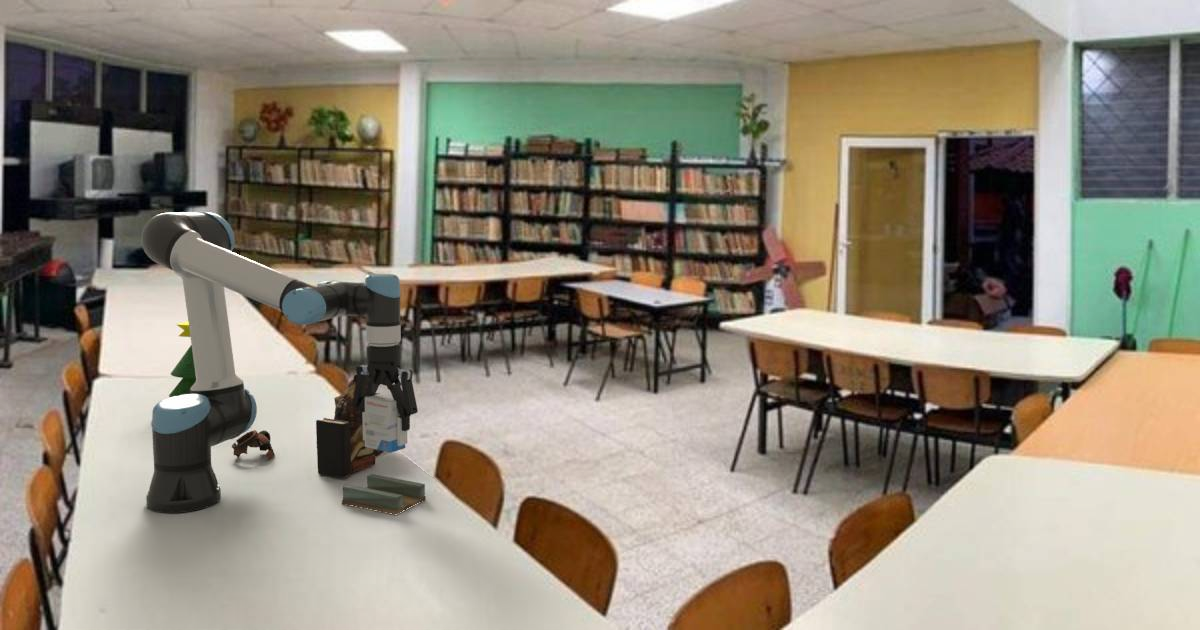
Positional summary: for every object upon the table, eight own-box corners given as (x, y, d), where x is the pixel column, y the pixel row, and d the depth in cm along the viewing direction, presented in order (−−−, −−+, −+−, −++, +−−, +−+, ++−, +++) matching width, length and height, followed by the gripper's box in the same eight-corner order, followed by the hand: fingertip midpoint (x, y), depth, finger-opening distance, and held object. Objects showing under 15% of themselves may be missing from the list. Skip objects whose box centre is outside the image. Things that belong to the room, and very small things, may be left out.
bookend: (343, 481, 218) (342, 381, 214) (312, 473, 223) (311, 375, 220) (387, 467, 230) (386, 372, 227) (357, 459, 236) (356, 366, 232)
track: (396, 515, 196) (396, 497, 196) (341, 504, 202) (341, 487, 202) (425, 500, 206) (425, 483, 206) (372, 489, 212) (372, 473, 212)
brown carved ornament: (269, 465, 230) (251, 440, 227) (239, 478, 232) (221, 453, 229) (286, 441, 241) (269, 417, 238) (258, 454, 243) (241, 430, 240)
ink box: (407, 448, 202) (406, 397, 201) (390, 453, 198) (390, 401, 196) (380, 442, 207) (379, 392, 205) (363, 447, 203) (362, 396, 201)
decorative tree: (213, 423, 267) (210, 323, 263) (155, 418, 270) (151, 320, 266) (249, 408, 286) (247, 315, 282) (195, 404, 289) (192, 312, 285)
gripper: (433, 345, 198) (434, 443, 201) (355, 337, 207) (357, 431, 210) (413, 350, 192) (414, 452, 195) (333, 341, 200) (336, 439, 203)
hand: (385, 441), depth 202 cm, fingers closed on ink box, 9 cm apart
